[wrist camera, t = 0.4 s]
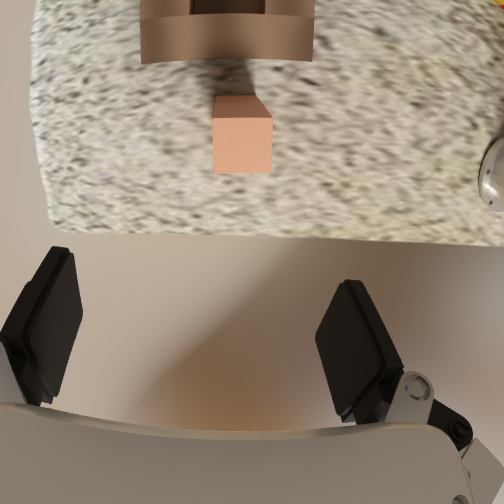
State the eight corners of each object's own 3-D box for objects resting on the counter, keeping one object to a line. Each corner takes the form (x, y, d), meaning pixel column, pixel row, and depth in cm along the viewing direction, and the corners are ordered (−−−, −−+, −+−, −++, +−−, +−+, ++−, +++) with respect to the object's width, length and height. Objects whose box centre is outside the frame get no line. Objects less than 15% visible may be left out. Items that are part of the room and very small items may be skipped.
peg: (255, 95, 30) (273, 117, 20) (254, 132, 32) (270, 172, 23) (215, 95, 30) (212, 118, 20) (216, 132, 32) (213, 173, 22)
